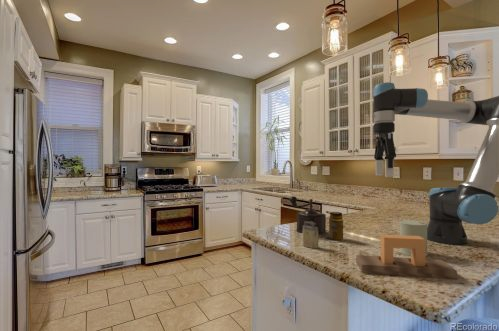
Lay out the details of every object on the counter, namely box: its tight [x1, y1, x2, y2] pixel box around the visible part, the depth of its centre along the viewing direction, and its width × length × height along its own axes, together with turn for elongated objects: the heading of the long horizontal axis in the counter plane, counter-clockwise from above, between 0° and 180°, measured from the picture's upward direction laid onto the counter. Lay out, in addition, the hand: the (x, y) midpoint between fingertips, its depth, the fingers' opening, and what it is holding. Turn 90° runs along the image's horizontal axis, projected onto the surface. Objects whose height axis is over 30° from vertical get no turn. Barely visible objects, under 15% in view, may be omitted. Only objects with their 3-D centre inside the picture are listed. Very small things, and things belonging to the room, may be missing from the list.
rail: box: [355, 254, 458, 280], centre depth 85 cm, size 26×9×2 cm, turn 79°
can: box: [399, 219, 429, 257], centre depth 102 cm, size 9×9×12 cm
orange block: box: [380, 234, 426, 266], centre depth 85 cm, size 12×4×10 cm, turn 79°
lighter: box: [302, 221, 319, 249], centre depth 110 cm, size 7×4×10 cm, turn 42°
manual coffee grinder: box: [288, 195, 327, 235], centre depth 133 cm, size 16×11×18 cm
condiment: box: [322, 211, 348, 243], centre depth 121 cm, size 7×8×12 cm
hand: (384, 176), depth 108 cm, fingers open, 13 cm apart
